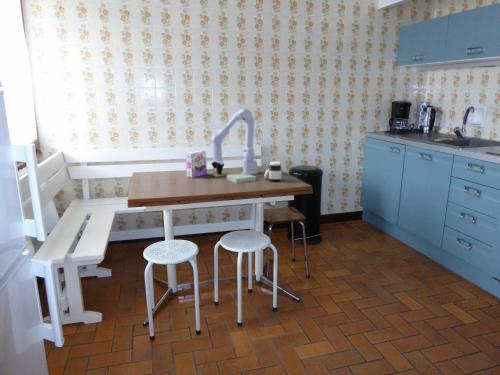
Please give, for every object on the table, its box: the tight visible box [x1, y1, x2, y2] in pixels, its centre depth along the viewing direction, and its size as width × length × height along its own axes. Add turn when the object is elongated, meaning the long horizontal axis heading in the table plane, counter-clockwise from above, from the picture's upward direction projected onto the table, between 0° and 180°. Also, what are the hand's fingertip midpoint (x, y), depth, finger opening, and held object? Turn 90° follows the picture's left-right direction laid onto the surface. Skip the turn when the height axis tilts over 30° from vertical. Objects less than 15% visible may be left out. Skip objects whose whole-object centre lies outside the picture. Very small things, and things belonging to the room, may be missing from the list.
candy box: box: [185, 150, 208, 179], centre depth 258 cm, size 14×6×16 cm, turn 143°
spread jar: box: [263, 161, 283, 183], centre depth 245 cm, size 12×11×12 cm
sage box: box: [226, 172, 257, 184], centre depth 248 cm, size 14×14×3 cm
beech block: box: [212, 167, 224, 178], centre depth 258 cm, size 5×5×5 cm
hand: (217, 173), depth 258 cm, fingers closed on beech block, 5 cm apart
